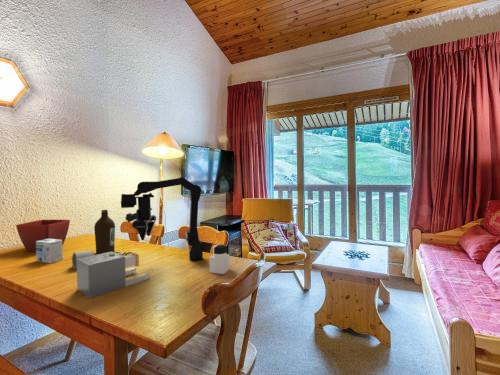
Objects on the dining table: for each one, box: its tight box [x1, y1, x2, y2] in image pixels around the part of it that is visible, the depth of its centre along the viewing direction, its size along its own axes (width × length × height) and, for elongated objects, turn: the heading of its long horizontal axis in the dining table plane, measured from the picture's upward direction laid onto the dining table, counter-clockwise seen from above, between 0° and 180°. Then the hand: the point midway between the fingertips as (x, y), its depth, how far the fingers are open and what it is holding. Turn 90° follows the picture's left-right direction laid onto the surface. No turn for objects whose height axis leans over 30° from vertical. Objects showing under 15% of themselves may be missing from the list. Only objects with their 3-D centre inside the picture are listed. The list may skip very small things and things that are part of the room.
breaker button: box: [123, 252, 140, 269], centre depth 107 cm, size 12×5×5 cm, turn 141°
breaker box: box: [76, 251, 150, 299], centre depth 104 cm, size 23×12×13 cm, turn 141°
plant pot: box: [15, 219, 71, 253], centre depth 158 cm, size 19×19×17 cm
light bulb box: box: [35, 239, 64, 264], centre depth 136 cm, size 11×7×11 cm, turn 73°
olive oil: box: [93, 209, 116, 255], centre depth 150 cm, size 11×11×25 cm
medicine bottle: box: [209, 243, 231, 275], centre depth 119 cm, size 7×7×12 cm
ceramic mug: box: [71, 250, 95, 269], centre depth 127 cm, size 11×8×8 cm
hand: (145, 237), depth 128 cm, fingers open, 9 cm apart
